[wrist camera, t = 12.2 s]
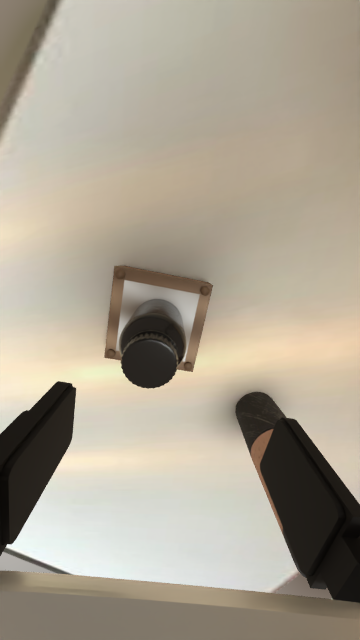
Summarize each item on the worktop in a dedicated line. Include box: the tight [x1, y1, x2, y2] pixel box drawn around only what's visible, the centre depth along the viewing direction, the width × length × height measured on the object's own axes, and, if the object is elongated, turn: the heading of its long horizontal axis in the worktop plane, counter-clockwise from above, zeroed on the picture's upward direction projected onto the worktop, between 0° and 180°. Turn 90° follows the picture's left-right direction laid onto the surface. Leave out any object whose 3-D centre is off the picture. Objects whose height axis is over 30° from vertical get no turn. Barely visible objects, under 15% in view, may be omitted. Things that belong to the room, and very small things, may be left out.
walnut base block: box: [104, 266, 213, 372], centre depth 31 cm, size 13×13×4 cm
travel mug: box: [236, 392, 306, 578], centre depth 29 cm, size 8×8×20 cm
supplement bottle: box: [119, 299, 187, 388], centre depth 23 cm, size 7×7×12 cm
